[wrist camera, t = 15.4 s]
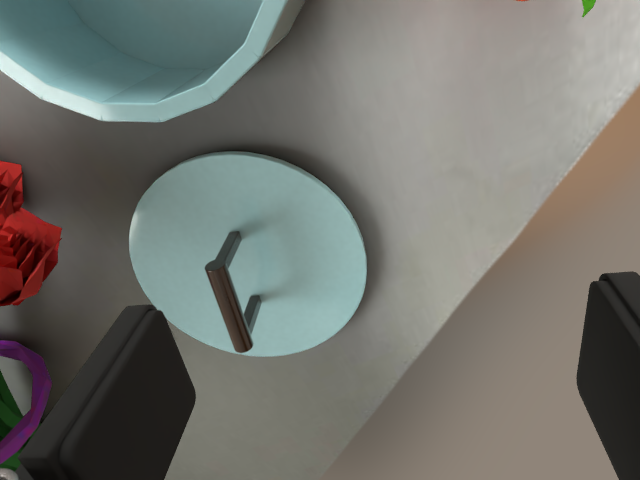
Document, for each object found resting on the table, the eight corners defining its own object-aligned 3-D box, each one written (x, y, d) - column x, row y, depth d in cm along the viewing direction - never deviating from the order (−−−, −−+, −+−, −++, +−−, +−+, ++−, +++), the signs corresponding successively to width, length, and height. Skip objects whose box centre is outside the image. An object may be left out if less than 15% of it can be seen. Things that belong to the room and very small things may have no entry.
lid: (181, 352, 37) (151, 413, 32) (98, 167, 30) (42, 209, 25) (381, 337, 34) (382, 401, 29) (346, 128, 27) (340, 167, 22)
